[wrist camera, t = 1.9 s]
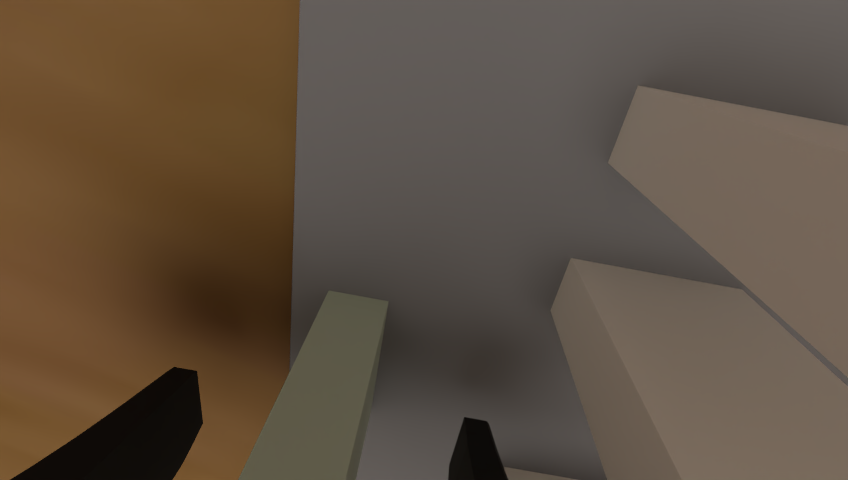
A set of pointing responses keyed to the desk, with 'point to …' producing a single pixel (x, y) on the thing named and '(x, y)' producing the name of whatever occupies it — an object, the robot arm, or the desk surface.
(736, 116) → the domino
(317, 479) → the sage domino
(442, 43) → the charcoal mat
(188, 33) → the desk surface
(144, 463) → the robot arm
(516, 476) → the domino
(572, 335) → the domino
